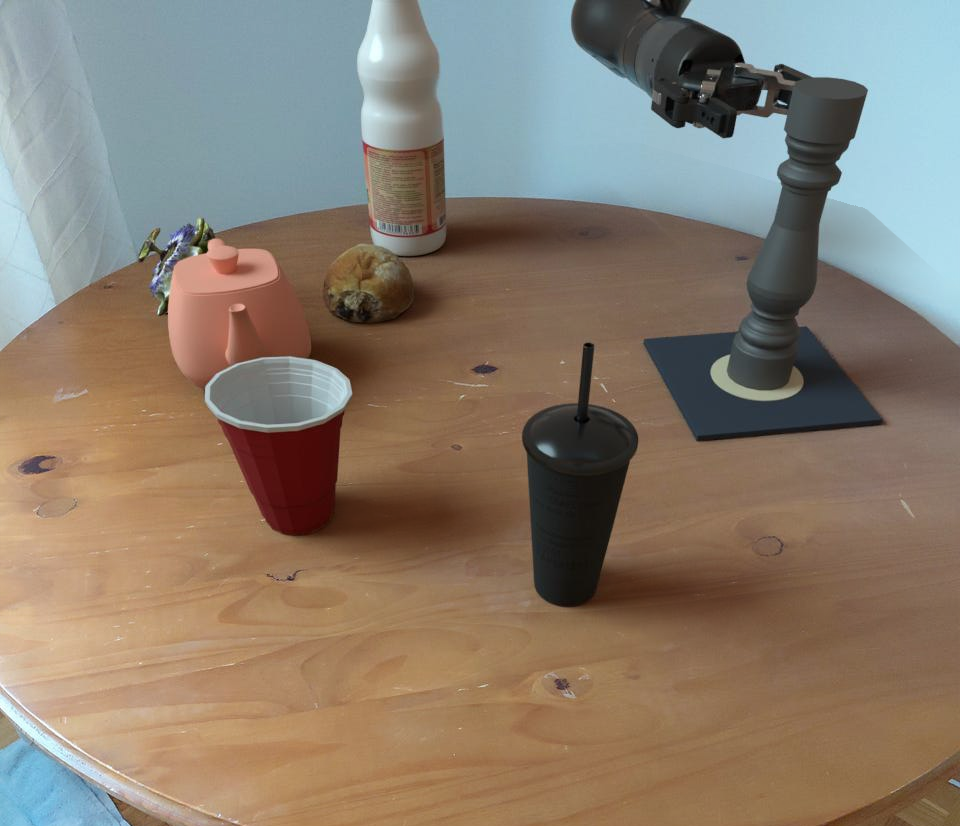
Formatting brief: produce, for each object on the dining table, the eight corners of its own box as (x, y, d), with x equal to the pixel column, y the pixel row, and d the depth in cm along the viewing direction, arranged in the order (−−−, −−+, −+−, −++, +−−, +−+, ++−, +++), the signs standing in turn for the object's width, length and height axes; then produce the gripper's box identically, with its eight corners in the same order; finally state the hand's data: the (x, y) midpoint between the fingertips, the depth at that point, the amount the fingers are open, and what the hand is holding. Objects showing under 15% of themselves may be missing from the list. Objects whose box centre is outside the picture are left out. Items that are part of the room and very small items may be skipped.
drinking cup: (543, 632, 65) (562, 389, 50) (499, 568, 70) (505, 329, 55) (634, 602, 67) (677, 361, 52) (585, 542, 72) (612, 305, 57)
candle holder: (791, 393, 86) (876, 102, 67) (726, 387, 86) (792, 97, 68) (788, 361, 90) (867, 78, 72) (726, 355, 91) (788, 74, 72)
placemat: (805, 331, 95) (807, 325, 95) (881, 424, 83) (883, 418, 83) (643, 343, 94) (643, 337, 93) (696, 441, 81) (697, 434, 81)
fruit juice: (393, 264, 107) (372, -22, 86) (358, 236, 112) (330, -39, 92) (460, 246, 110) (456, -33, 89) (423, 220, 115) (410, -49, 95)
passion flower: (183, 357, 102) (138, 251, 99) (272, 326, 103) (230, 220, 100) (165, 347, 91) (114, 227, 88) (265, 312, 92) (218, 192, 89)
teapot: (192, 441, 82) (157, 315, 73) (171, 338, 94) (139, 220, 86) (335, 415, 84) (317, 291, 76) (296, 318, 97) (277, 203, 88)
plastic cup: (393, 512, 74) (381, 384, 66) (289, 574, 69) (261, 444, 60) (313, 458, 80) (292, 333, 71) (210, 512, 74) (174, 385, 66)
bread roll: (422, 339, 101) (442, 266, 98) (357, 332, 94) (376, 253, 90) (365, 310, 106) (381, 240, 103) (298, 301, 98) (313, 225, 95)
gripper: (625, 30, 83) (710, 78, 72) (759, 17, 86) (860, 61, 75) (616, 119, 88) (694, 176, 78) (743, 104, 91) (834, 157, 81)
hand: (775, 119), depth 76 cm, fingers open, 8 cm apart
